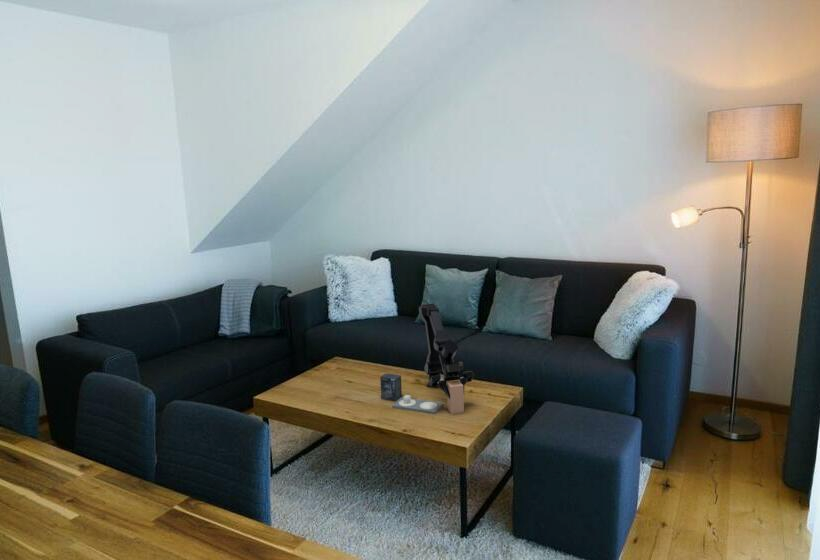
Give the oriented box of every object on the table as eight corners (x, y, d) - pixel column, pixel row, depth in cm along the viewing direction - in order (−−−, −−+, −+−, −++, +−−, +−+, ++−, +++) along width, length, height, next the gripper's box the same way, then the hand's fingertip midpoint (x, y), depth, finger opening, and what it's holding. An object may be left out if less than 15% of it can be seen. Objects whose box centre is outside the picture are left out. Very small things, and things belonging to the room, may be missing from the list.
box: (381, 398, 262) (379, 376, 260) (387, 394, 267) (386, 372, 265) (395, 401, 259) (394, 379, 257) (402, 397, 263) (401, 375, 261)
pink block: (447, 408, 249) (446, 382, 246) (459, 407, 250) (459, 380, 248) (451, 414, 243) (450, 387, 241) (463, 412, 245) (463, 385, 242)
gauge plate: (401, 399, 261) (401, 390, 260) (443, 404, 253) (443, 396, 252) (392, 407, 252) (391, 399, 251) (435, 413, 244) (434, 405, 243)
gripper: (430, 357, 244) (438, 392, 236) (472, 352, 248) (481, 386, 240) (426, 369, 253) (433, 402, 245) (466, 364, 257) (475, 397, 249)
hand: (456, 397), depth 244 cm, fingers closed on pink block, 5 cm apart
